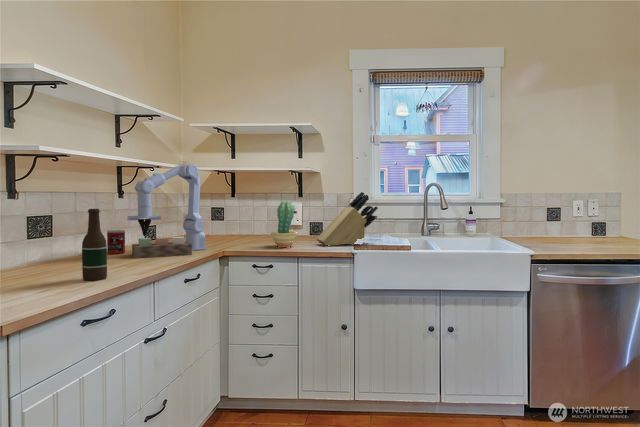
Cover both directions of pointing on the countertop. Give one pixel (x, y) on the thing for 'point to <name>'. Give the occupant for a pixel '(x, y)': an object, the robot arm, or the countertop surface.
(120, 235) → the canned food
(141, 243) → the key green
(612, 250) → the countertop surface
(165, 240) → the key terracotta
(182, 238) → the key cream
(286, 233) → the potted cactus
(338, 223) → the knife block
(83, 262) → the beer bottle
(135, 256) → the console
